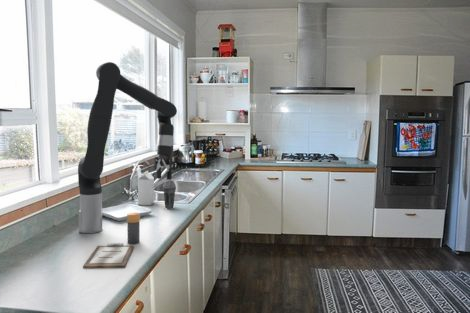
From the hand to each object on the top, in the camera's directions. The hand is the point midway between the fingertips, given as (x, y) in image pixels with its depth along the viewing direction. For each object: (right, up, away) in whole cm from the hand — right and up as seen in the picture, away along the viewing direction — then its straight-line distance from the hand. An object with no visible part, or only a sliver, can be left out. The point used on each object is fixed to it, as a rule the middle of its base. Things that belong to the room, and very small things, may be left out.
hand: (163, 179), depth 183 cm
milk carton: (-18, -17, +41) cm, 48 cm away
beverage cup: (-3, -18, +33) cm, 38 cm away
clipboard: (-13, -27, -40) cm, 50 cm away
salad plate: (-23, -20, +16) cm, 35 cm away
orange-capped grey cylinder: (-8, -25, -24) cm, 35 cm away
